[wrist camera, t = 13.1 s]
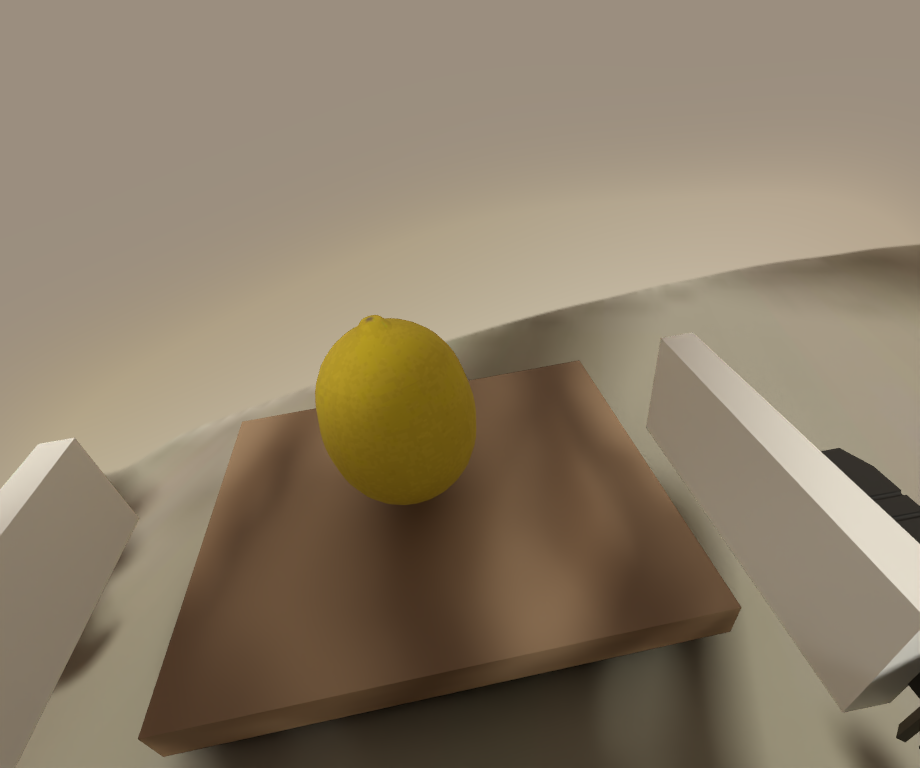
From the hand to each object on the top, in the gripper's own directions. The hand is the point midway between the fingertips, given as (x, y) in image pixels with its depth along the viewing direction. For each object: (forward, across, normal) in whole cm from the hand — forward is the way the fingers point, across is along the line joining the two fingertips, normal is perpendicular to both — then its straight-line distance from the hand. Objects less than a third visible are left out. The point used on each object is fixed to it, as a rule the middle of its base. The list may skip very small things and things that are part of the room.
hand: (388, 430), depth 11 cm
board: (+5, 0, -9) cm, 10 cm away
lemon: (+5, 0, -8) cm, 9 cm away
